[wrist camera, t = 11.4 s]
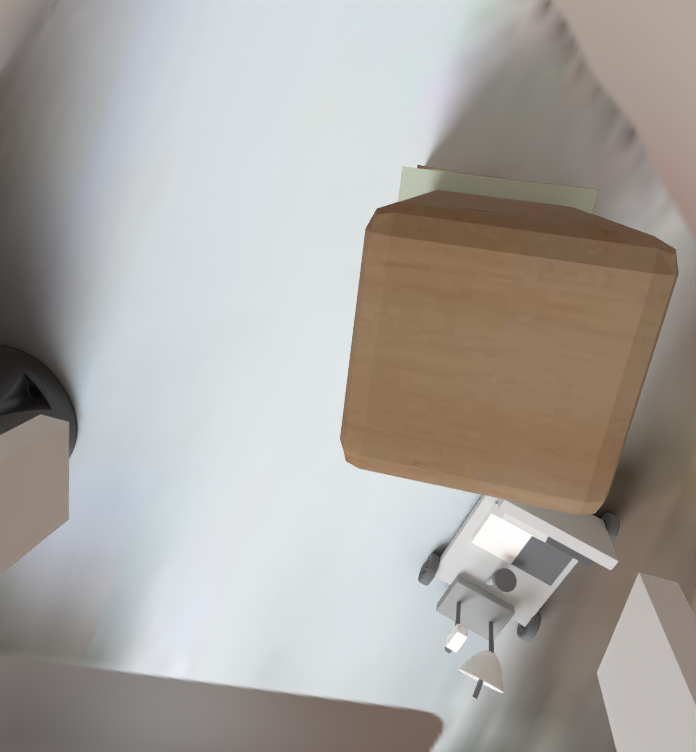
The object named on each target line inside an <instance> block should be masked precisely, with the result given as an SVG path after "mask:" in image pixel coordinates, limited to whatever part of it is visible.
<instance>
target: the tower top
mask: <svg viewBox="0 0 696 752" xmlns="http://www.w3.org/2000/svg"><path fill="white" fill-rule="evenodd" d="M436 190H444V191H451V192H459V193H467V194H475V195H483V196H491V197H498V198H506V199H514V200H522V201H530V202H538V203H545V204H553V205H561V206H569V207H573V208H576V209H579V210H582V211H585V212H587V213H590V214H593V211H594V206H595V202H596V198H597V194H598V189H589V188H581V187H572V186H564V185H555V184H547V183H538V182H530V181H521V180H513V179H504V178H496V177H487V176H478V175H470V174H461V173H453V172H444V171H436V170H427V169H419V168H410V167H403V169H402V177H401V184H400V191H399V199H398V202H400V201H403V200H406V199H409V198H412V197H416V196H419V195H422V194H425V193H429V192H432V191H436Z"/></svg>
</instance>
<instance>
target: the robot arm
mask: <svg viewBox="0 0 696 752" xmlns="http://www.w3.org/2000/svg"><path fill="white" fill-rule="evenodd" d="M75 440H76V421H75V415H74V411H73V408H72V405H71V402H70V400H69V398H68V395H67V394H66V392H65V390H64V388H63V387H62V385H61V384H60V382H59V381H58V379H57V378H56V377H55V376H54V375H53V373H52V372H51V371H50V370H49V369H48V368H47V367H45V366H44V365H43V364H42V363H41V362H39V361H38V360H37V359H35V358H34V357H32V356H30V355H29V354H27V353H25V352H23V351H20V350H17V349H14V348H11V347H5V346H0V575H1V574H2V573H3V572H4V571H6V570H7V569H8V568H9V567H11V566H12V565H13V564H14V563H16V562H17V561H18V560H19V559H20V558H22V557H23V556H24V555H25V554H27V553H28V552H29V551H30V550H32V549H33V548H34V547H35V546H36V545H38V544H39V543H40V542H41V541H43V540H44V539H45V538H46V537H47V536H49V535H50V534H51V533H52V532H54V531H55V530H56V529H57V528H59V527H60V526H61V525H62V524H63V523H65V522H66V521H67V520H68V519H69V457H70V455H71V453H72V451H73V448H74V445H75ZM597 675H598V679H599V683H600V687H601V691H602V695H603V699H604V703H605V707H606V710H607V714H608V718H609V722H610V726H611V730H612V734H613V738H614V742H615V746H616V750H617V752H696V618H695V616H694V614H693V612H692V610H691V608H690V606H689V604H688V602H687V600H686V598H685V596H684V594H683V592H682V590H681V588H680V586H679V584H678V583H677V582H673V581H669V580H665V579H662V578H658V577H654V576H650V575H646V574H643V573H639V574H638V576H637V578H636V581H635V583H634V586H633V588H632V590H631V593H630V595H629V598H628V600H627V602H626V605H625V607H624V610H623V612H622V614H621V617H620V619H619V621H618V624H617V626H616V629H615V631H614V633H613V636H612V638H611V641H610V643H609V645H608V648H607V650H606V653H605V655H604V657H603V660H602V662H601V665H600V667H599V669H598V672H597Z"/></svg>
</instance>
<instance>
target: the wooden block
mask: <svg viewBox="0 0 696 752" xmlns="http://www.w3.org/2000/svg"><path fill="white" fill-rule="evenodd" d="M677 277H678V265H677V257H676V249H674V248H673V247H671V246H669V245H668V244H666V243H664V242H663V241H661V240H659V239H658V238H656V237H654V236H652V235H649V234H646V233H643V232H641V231H638V230H635V229H632V228H629V227H627V226H624V225H621V224H618V223H615V222H613V221H610V220H607V219H604V218H601V217H599V216H596V215H593V214H590V213H587V212H585V211H582V210H579V209H576V208H573V207H569V206H561V205H553V204H545V203H538V202H530V201H522V200H514V199H506V198H498V197H491V196H483V195H475V194H467V193H459V192H451V191H444V190H436V191H432V192H429V193H425V194H422V195H419V196H416V197H412V198H409V199H406V200H403V201H400V202H397V203H393V204H390V205H387V206H384V207H381V208H377V209H376V211H375V213H374V215H373V217H372V218H371V220H370V222H369V224H368V226H367V227H366V230H365V238H364V246H363V255H362V263H361V271H360V279H359V288H358V296H357V304H356V312H355V320H354V329H353V337H352V345H351V353H350V361H349V370H348V378H347V386H346V394H345V402H344V411H343V419H342V427H341V435H340V440H341V444H342V447H343V450H344V455H345V460H346V461H347V462H349V463H350V464H352V465H354V466H356V467H357V468H359V469H364V470H369V471H373V472H378V473H383V474H387V475H392V476H397V477H401V478H406V479H411V480H416V481H420V482H425V483H430V484H434V485H439V486H444V487H449V488H453V489H458V490H463V491H467V492H472V493H477V494H481V495H486V496H491V497H496V498H500V499H505V500H510V501H514V502H519V503H524V504H529V505H533V506H538V507H543V508H547V509H552V510H557V511H562V512H566V513H571V514H576V515H584V514H595V513H596V512H597V511H598V509H599V508H600V507H601V506H602V504H603V503H604V502H605V500H606V498H607V496H608V494H609V491H610V488H611V485H612V482H613V479H614V476H615V473H616V469H617V466H618V463H619V460H620V457H621V454H622V450H623V447H624V444H625V441H626V438H627V435H628V431H629V428H630V425H631V422H632V419H633V416H634V413H635V409H636V406H637V403H638V400H639V397H640V394H641V390H642V387H643V384H644V381H645V378H646V375H647V371H648V368H649V365H650V362H651V359H652V356H653V352H654V349H655V346H656V343H657V340H658V337H659V334H660V330H661V327H662V324H663V321H664V318H665V315H666V311H667V308H668V305H669V302H670V299H671V296H672V292H673V289H674V286H675V283H676V280H677Z"/></svg>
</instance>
